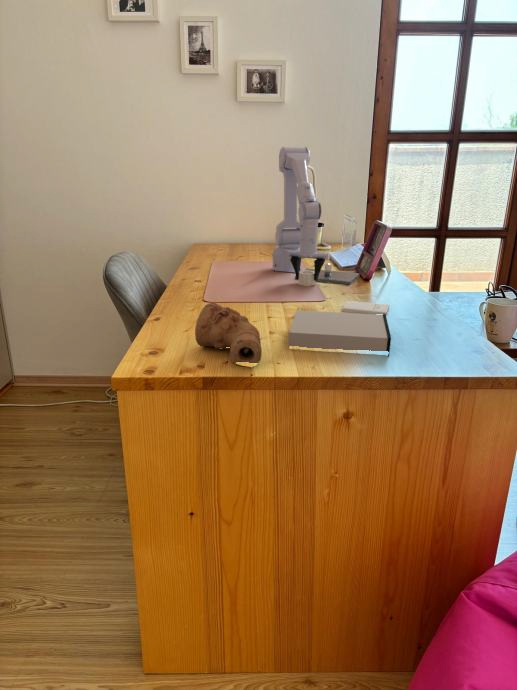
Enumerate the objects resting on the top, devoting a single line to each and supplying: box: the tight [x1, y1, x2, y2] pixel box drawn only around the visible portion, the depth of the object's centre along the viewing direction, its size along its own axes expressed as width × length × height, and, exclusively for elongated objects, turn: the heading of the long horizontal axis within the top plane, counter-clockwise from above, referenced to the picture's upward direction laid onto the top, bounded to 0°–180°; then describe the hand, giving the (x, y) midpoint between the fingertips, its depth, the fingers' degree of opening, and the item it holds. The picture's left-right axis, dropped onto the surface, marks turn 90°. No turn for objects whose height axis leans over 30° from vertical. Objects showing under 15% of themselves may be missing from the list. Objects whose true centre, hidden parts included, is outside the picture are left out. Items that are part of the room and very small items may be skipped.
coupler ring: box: [297, 270, 316, 287], centre depth 173 cm, size 6×6×4 cm
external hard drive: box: [341, 300, 390, 316], centre depth 146 cm, size 2×8×12 cm
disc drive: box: [288, 309, 392, 353], centre depth 121 cm, size 18×22×5 cm
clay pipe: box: [194, 301, 262, 364], centre depth 112 cm, size 19×11×15 cm
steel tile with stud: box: [294, 262, 360, 285], centre depth 182 cm, size 20×14×5 cm
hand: (306, 279), depth 173 cm, fingers open, 6 cm apart
